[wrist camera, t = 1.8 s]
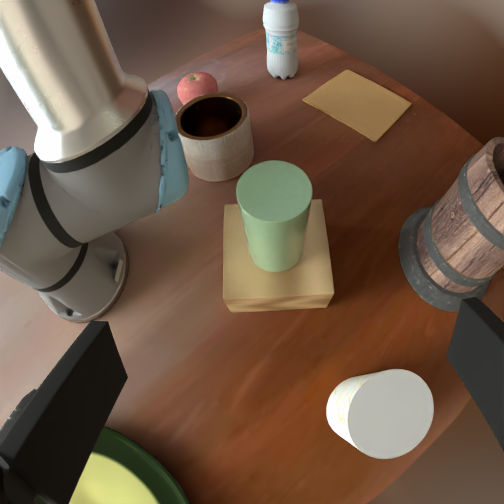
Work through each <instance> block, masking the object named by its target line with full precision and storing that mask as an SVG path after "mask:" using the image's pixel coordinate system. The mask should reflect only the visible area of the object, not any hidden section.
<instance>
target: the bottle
mask: <svg viewBox="0 0 504 504" xmlns="http://www.w3.org/2000/svg"><path fill="white" fill-rule="evenodd" d="M263 22H264V27H265V29H266V41H267V68H268V72H269V73H270V74H272V76H273V77H274V78H278V76H280V77H281V78H282V79H283V80H285V79H286V77H287V76H289V77H290V78H292V77H294V75H295V73H296V72H297V69H298V57H297V28H298V27H299V24H298V23H299V17H298V10H297V6H296V4H294V3H292V2H290V1H289V0H271V2H269V3H267V4H265V5H264V13H263Z"/></svg>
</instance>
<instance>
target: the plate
mask: <svg viewBox="0 0 504 504" xmlns="http://www.w3.org/2000/svg"><path fill="white" fill-rule="evenodd" d="M34 500H35V501H36V502H37V504H47V503H46V502H45V501H44V500H43V499H42V498H41V497H39V496H38V495H36V497H35V499H34ZM69 504H191V503H190V501H189V499H188V497H187V496H186V494H185V492H184V491H183V489H182V488H181V486H180V485H179V483H178V482H177V481H176V479H175V478H174V477H173V476H172V474H171V473H170V472H169V471H168V470H167V469H166V468H165V467H164V466H163V465H162V464H161V463H160V462H159V461H158V460H157V459H156V458H154V457H153V456H152V455H151V454H150V453H149V452H147V451H146V450H145V449H144V448H142V447H141V446H140V445H138V444H137V443H136V442H134V441H133V440H131V439H130V438H128V437H126V436H125V435H123V434H121V433H119V432H117V431H115V430H113V429H110V428H108V427H105V426H104V427H103V429H102V431H101V433H100V435H99V438H98V440H97V442H96V444H95V446H94V448H93V450H92V453H91V455H90V457H89V459H88V461H87V464H86V466H85V468H84V470H83V472H82V475H81V477H80V479H79V481H78V484H77V486H76V488H75V491H74V493H73V495H72V498H71V500H70V502H69Z"/></svg>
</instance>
